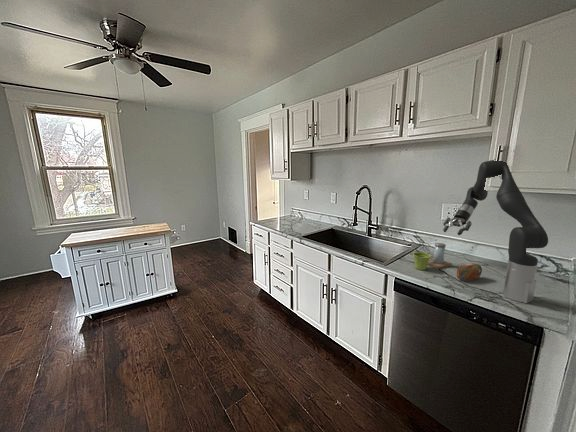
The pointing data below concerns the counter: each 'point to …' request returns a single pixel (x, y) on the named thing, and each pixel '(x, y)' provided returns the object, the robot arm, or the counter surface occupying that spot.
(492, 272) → the counter surface
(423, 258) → the plant pot
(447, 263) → the tan board
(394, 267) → the counter surface
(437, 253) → the blue jar
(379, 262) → the counter surface
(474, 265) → the tin
